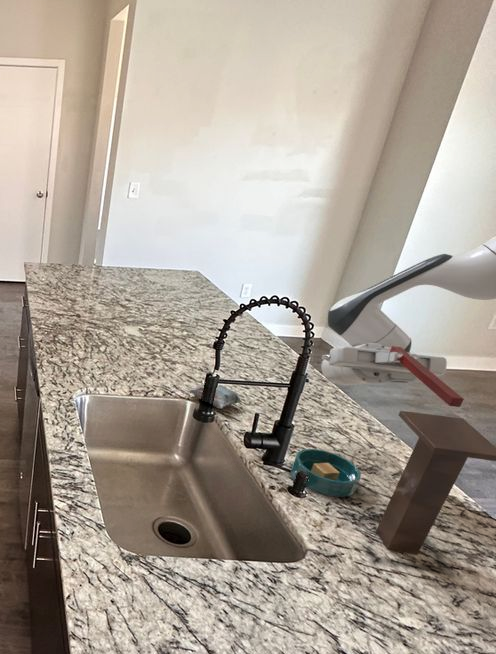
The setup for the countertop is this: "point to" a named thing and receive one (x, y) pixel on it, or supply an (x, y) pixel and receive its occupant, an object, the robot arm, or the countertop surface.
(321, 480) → the bowl
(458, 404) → the red square bar
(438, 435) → the brown pedestal stand
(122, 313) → the countertop surface
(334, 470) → the block
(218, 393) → the packaged food
